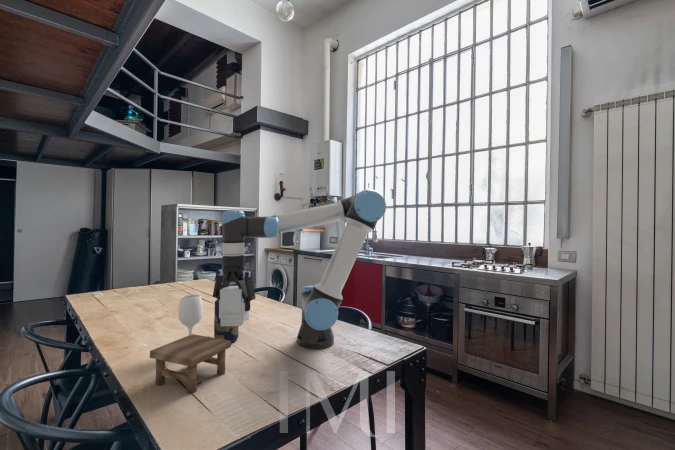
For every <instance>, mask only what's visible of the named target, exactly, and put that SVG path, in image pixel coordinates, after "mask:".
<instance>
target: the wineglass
mask: <svg viewBox="0 0 675 450" xmlns="http://www.w3.org/2000/svg"><path fill="white" fill-rule="evenodd" d="M203 307H204V305H203V300H202V295H200V294H198V293H197V294H194V293H193V294H185V295H182V296H180V299H179V303H178V308H177V309H178V310H177V312H178V313H177V316H178V317H177V318H178V320H179V322H180V323H181V324H182V325H183V326H185V327H186V328H187V329H188V336H189V335H191V334H193V328H194V327H195V326H196V325H197V324H199V322H200V321H201V319H203V318H202V317H203V312H204V308H203Z"/></svg>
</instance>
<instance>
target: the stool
mask: <svg viewBox="0 0 675 450" xmlns="http://www.w3.org/2000/svg"><path fill="white" fill-rule="evenodd" d="M231 347H232V342H231V341H229V340H223V339H218V338H214V337H211V336H205V335H201V334H200V335H199V334H194V333H192V334H191V335H189V334H188V335H186V336H184V337H181V338H180V339H179V338H178V339H177V340H174V341H172V342H168V343H166V344H163V345H161V346H159V347H156V348H154V349H150V350H149V358H150V359H154V360H155V385H156V386H162V385H164V384H165V383H166V377H167V378H170V379H175V380H178V381H182V382H186V393H187V394H194V393H196V392H197V367H198V365H199V364H201V363H206V364H210V365H211V364H212V365H214V366H216V375H218V376H224V375H225V374H226V351H227V350H228V349H230V348H231ZM216 355H217V357H215V356H216ZM166 362H168V363H173V364H176V365H182V366H186V367H187V371H186V372H185V373H184V372H180V371H177V370H171V369H168V368H166Z"/></svg>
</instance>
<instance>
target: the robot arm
mask: <svg viewBox="0 0 675 450" xmlns="http://www.w3.org/2000/svg"><path fill="white" fill-rule="evenodd" d="M386 209H387V202H386V200H385V198H384V196H383V195H382V193H380V192H379V191H377V190H374V189H364V190H363V189H362V190H361V191H359V192H358V193H356V194H354V195H351V196H350V197H345V198H342V199H338V200H337V202H336V203H335V202H334V203H331V204H326V205H321V206H316V207H315V206H314V207H310V208H305V209H301V210H295V211H290V212H285V213H280V214H275V215H268V216H246V215H245V211H242V210H227V211H224V212H223V213H222V223H221V234H222V237H221V240H222V243H221V244H222V246H221V250H222V251H221V253H222V258H221V259H222V261H221V262H222V263H221V265H222V267H223V269H217V270H215V280H214V281H215V282H214V287H213V292H212V297H213V298H216V300H217V299H218V308H219V318H220V290H221V289H223V288H225V287H228V286H230V284H231V283H232V282H233V283H235V284H236V286H238V287H239V289H242V297H243V300H244V301H243V302H242V321H245V322H246V321H248V320H249V319H250V317H249V316H250V315H249V314H250V313H249V312H250V311H251V301H254V300H255V299H256V292H255V287H254V284H253V279H252V276H253V272H252V270H248V271H247V270H245V263H246V261H245V259H246V256H245V255H244V254H245V248H246V247H245V246H246V245H245V244H246V243H245V239H247V238H248V239H249V238H250V239H251V238H253V239H255V238H258V239H260V238H261V239H262V238H263V239H264V238H266V239H270V238H278V237H279V234H284V233H288V232H293V231H298V230H304V229H309V228H314V227H317V226H323V225H328V224H332V223H337V222H340V223H342V224H344V223H345V226H344V229H343V231H342V233H341V235H340V237H339V240H338V242H337V244H336V247H335V249H334V251H333V253H332V255H331V258H330V259H329V262H328V264H327V267H326V268H325V271H324V273H323V275H322V278H321V280H320V282H318V283H315V284H313V285H305V286H303V287H302V290H301V322H300V323H301V324H300V326H299V330H298V333H297V336H296V344H297V345H298V346H299V347H302V348H304V349H311V350H319V349H326V348H330V347H331V346H333V345H334V344H335V336H334V332H333V329H332V327H333V326H334V325H335V324H336V322H337V320H338V316H339V308H340V306H341V304H342V301H343V300H344V298H343V295H342V290H343V289H344V287H345V284H346V282H347V280H348V278H349V276H350V273H351V271H352V269H353V266H354V265H355V262H356V260H357V257H358V255H359V253H360V251H361V249H362V247H363V246H364V245H363V244H364V242H365V240H366V238H367V235H368V234H369V233H372V232H373V231H374V230H375V228H376V225H377V224H378V221H379V220H381V219H382V218H383V216H384V215H385V213H386Z"/></svg>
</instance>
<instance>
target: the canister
mask: <svg viewBox="0 0 675 450" xmlns="http://www.w3.org/2000/svg"><path fill="white" fill-rule="evenodd" d="M213 321H214V322H213V333H214V334H213V338H218V339H223V340H229V341H231V343H232V342H235V341H237V340H238V339H239V333H240V332H239V328H240V326H221V319H220V318H219V308H218V299H217V298H216V300H215V301H214V320H213Z"/></svg>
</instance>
